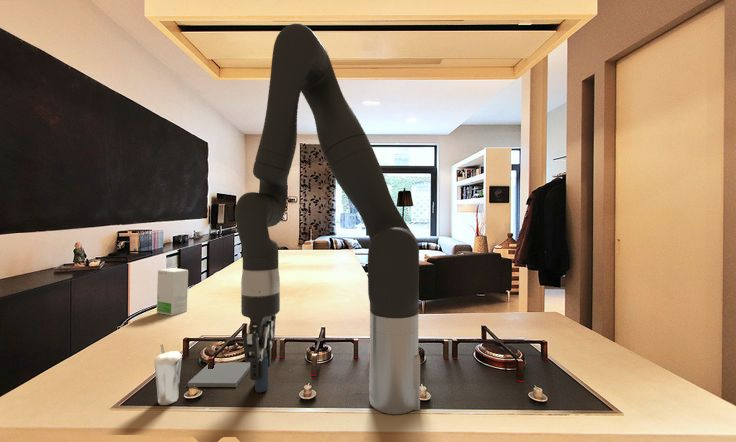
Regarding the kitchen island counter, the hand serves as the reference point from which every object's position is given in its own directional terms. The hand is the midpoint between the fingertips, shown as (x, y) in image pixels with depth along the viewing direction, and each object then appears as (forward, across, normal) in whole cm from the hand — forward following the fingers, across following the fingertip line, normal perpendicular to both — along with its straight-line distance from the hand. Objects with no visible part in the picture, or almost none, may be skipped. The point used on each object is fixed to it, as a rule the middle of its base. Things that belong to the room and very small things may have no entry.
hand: (260, 372), depth 71 cm
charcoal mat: (+3, +5, +10) cm, 12 cm away
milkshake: (+3, -5, +16) cm, 17 cm away
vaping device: (+3, 0, 0) cm, 3 cm away
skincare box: (+3, +54, +49) cm, 73 cm away
